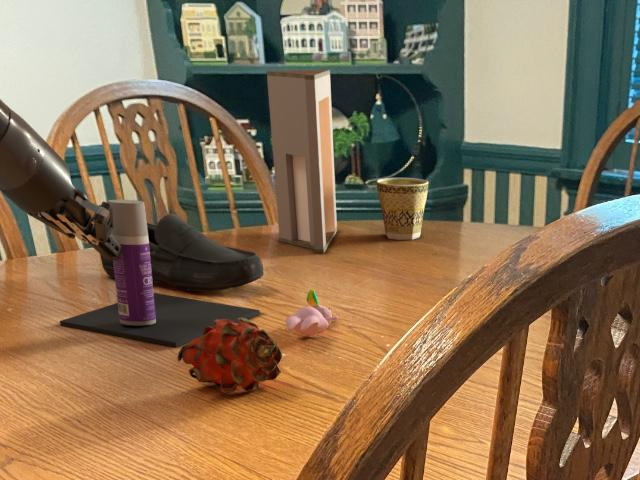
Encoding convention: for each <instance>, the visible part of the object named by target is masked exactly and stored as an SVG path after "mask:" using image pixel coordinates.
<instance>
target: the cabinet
mask: <svg viewBox="0 0 640 480" xmlns="http://www.w3.org/2000/svg"><path fill="white" fill-rule="evenodd" d="M266 79H267V93H268V107H269V117H270V120H269V121H270V131H271V145H272V157H273V170H274V182H275V183H274V184H275V196H276V209H277V210H276V211H277V223H278V234H279V242H282V243H286V244H290V245H295V246H299V247H302V248H307V249H311V250H314V254H325V252H326V250H327V249H328V247H329V246H330V244H331V242H332V241H333V238H334V237H335V236H336V234H337V232H338V223H337V222H338V221H337V220H338V219H337V204H336V203H337V198H336V176H335V157H334V156H335V153H334V132H333V130H334V129H333V112H332V111H333V110H332V89H331V86H332V85H331V70H330V69H314V70H313V69H312V70H311V69H310V70H266Z"/></svg>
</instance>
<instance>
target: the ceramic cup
mask: <svg viewBox="0 0 640 480" xmlns="http://www.w3.org/2000/svg"><path fill="white" fill-rule="evenodd" d="M375 183H376V191H377V196H378V200H379V204H380V208H381V209H380V210H381V214H382V218H383V219H382V220H383V227H384V232H385V235H386V237H387V239H391V240H397V241H409V240H410V241H413V240H416V239H419V238H420V237H421V232H422V226H423V219H424V215H425V214H424V212H425V207H426V203H427V199H428V198H427V197H428V193H429V192H428V190H429V181H428V180H426V179H423V178H416V177H415V178H414V177H385V178H379V179H377V180H376V181H375Z"/></svg>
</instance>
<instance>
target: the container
mask: <svg viewBox="0 0 640 480" xmlns="http://www.w3.org/2000/svg"><path fill="white" fill-rule="evenodd" d="M107 203H109V204H110V205H111V206H112V208H113V220H114V227H113V229H112V231H111V233H110V235H111V236H112V237H113V238H114V239H115V240H116V241H117V242H118V243H119V244H120V245H121V247H122V251H121V254H120V256H119V258H118V260H117V261H113V265H114V274H115V278H114V281H115V290H116V299H117V303H118V310H119V319H120V323H122V324H125V325H134V326H142V325H151V324H154V323H156V315H155V304H154V293H155V292H154V284H153V283H154V282H153V281H152V270H151V259H150V248H149V239H148V230H147V223H148V222H147V214H146V205H145V201H143V200H135V199H108V200H107Z"/></svg>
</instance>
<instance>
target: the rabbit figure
mask: <svg viewBox="0 0 640 480" xmlns="http://www.w3.org/2000/svg"><path fill="white" fill-rule="evenodd" d="M306 303H307V304H308V305H307V306H303V307H300V308H298V309H297V310H296V311H295V312H294V313H293V314H292V315H290V316H287V317H286V318H285V325H286V327H287V329H288V330H289V331H293V330H295V331H296V332H297V333H299V334H301V335H305V336H306V337H308V338H311V337H316V335H318V334H321V333H323V332H324V331H326V330H327V329H328V328H329V325H330V324H331V323H332V322H333V321H337V320H339V316H337V315H334V313H333V310H332V309H333V308H332V306H331V307H326V306H324V305H320V304H319V298H318V297H317V294H316V291H315V289H314V288H311V289H310V290H308V292H307V295H306Z"/></svg>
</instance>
